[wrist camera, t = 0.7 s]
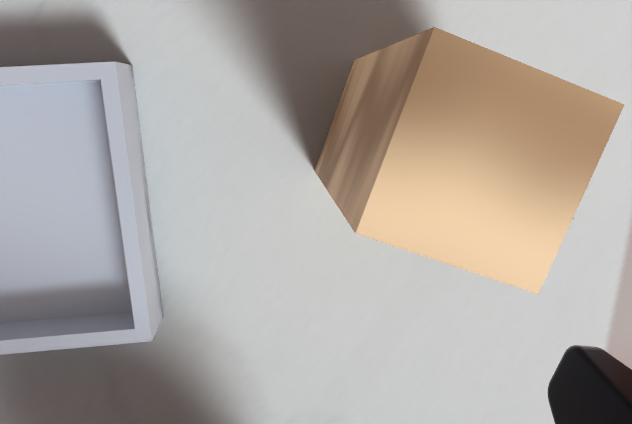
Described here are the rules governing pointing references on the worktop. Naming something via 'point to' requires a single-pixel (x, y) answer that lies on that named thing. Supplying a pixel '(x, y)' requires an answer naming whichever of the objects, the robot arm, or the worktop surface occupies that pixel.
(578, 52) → the worktop surface
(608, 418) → the robot arm
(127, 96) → the dish
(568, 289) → the worktop surface
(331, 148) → the oak block
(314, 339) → the worktop surface
